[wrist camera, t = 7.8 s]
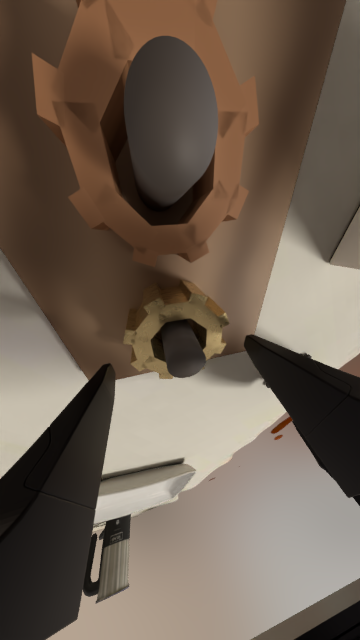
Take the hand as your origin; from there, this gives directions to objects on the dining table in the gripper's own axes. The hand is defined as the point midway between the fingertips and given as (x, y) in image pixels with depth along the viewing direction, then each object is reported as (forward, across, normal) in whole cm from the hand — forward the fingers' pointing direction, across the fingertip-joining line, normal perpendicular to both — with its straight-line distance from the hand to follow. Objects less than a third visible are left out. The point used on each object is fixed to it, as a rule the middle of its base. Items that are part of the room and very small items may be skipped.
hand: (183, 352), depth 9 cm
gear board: (+6, 0, -4) cm, 7 cm away
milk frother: (+6, +31, +88) cm, 94 cm away
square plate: (+6, +15, +53) cm, 55 cm away
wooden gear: (+4, 0, 0) cm, 4 cm away
